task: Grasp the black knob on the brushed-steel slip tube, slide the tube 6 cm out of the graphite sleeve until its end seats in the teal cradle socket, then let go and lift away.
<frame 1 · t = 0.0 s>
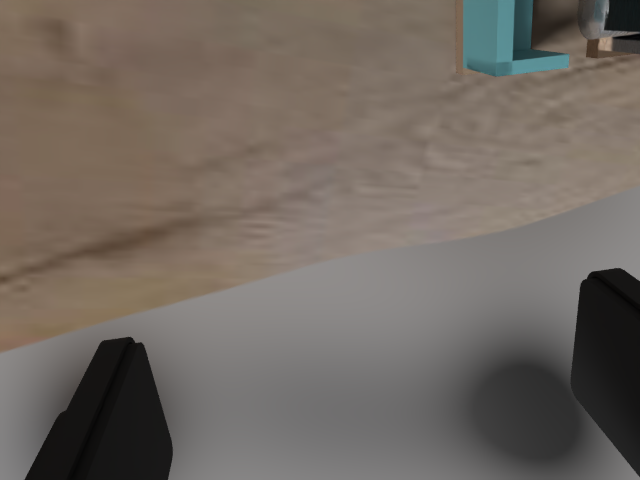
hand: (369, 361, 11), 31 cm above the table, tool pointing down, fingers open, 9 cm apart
far socket: (508, 19, 35), on the table
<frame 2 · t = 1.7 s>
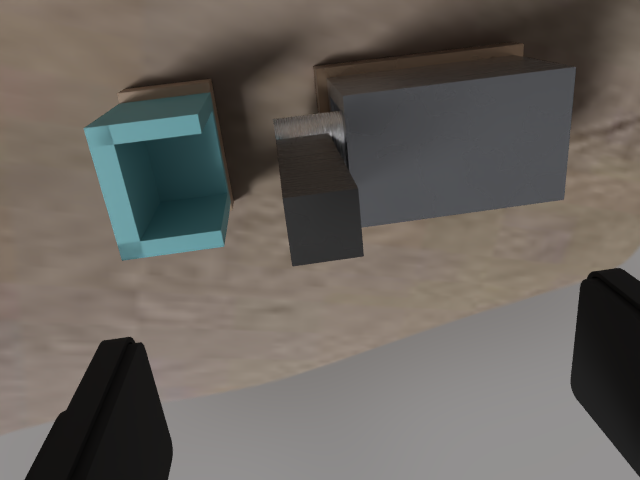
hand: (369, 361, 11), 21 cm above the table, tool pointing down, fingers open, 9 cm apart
slip tube: (415, 162, 22), point 8 cm above the table, slide at 0.0 cm
far socket: (171, 166, 26), on the table
tube sleeve: (415, 118, 30), on the table
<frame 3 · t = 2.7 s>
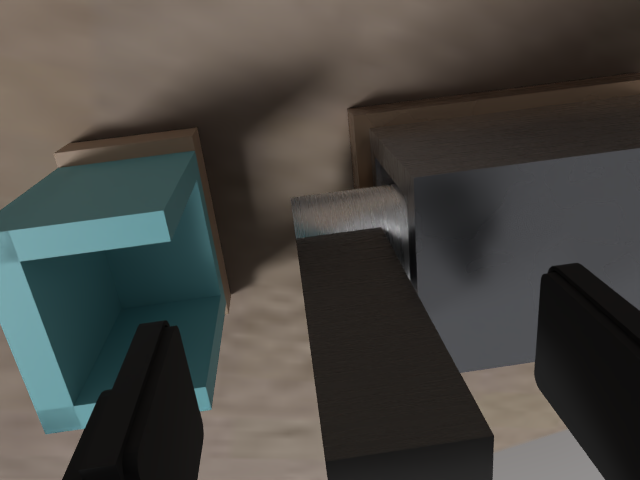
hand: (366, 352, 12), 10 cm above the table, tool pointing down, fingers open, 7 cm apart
slip tube: (534, 287, 13), point 8 cm above the table, slide at 0.0 cm
far socket: (133, 267, 17), on the table
tube sleeve: (491, 180, 21), on the table
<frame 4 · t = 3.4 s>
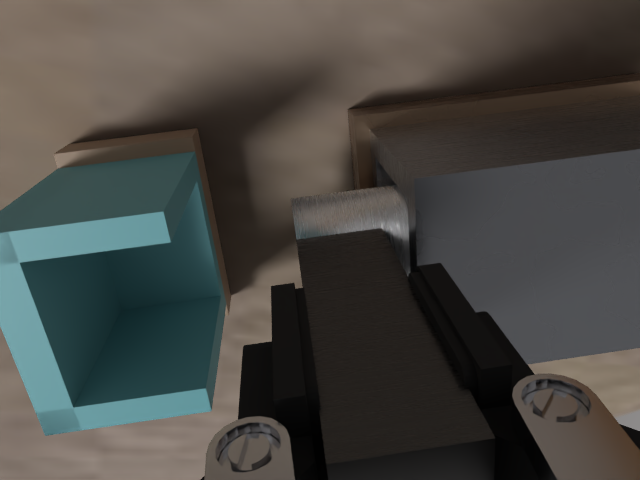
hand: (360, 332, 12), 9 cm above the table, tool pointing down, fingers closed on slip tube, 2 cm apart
slip tube: (535, 288, 13), point 8 cm above the table, slide at 0.0 cm, touching gripper
far socket: (133, 268, 17), on the table
tube sleeve: (492, 181, 21), on the table
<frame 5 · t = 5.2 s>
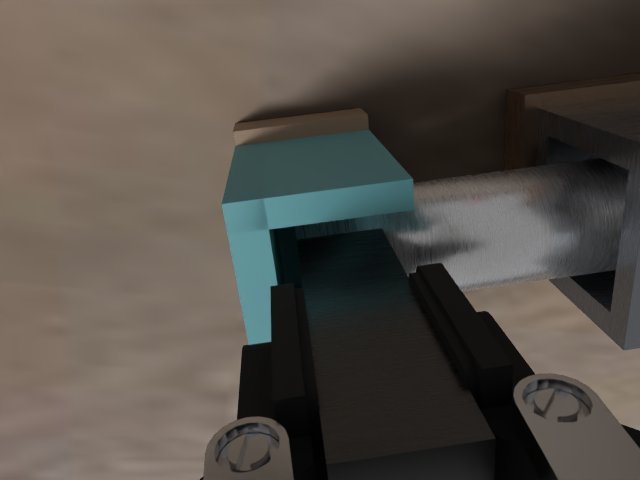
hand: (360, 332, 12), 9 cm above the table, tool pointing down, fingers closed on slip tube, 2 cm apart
slip tube: (535, 289, 13), point 8 cm above the table, slide at 6.0 cm, touching gripper
far socket: (317, 243, 17), on the table
tube sleeve: (637, 162, 21), on the table
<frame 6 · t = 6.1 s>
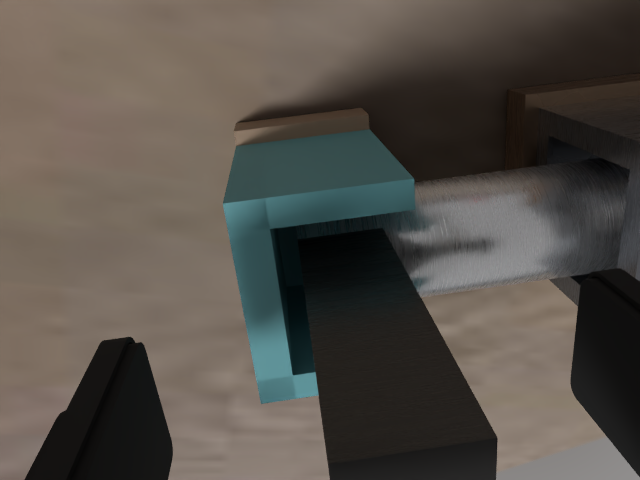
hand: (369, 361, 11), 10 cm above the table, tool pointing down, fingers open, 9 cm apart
slip tube: (536, 288, 13), point 8 cm above the table, slide at 6.0 cm
far socket: (318, 243, 17), on the table
tube sleeve: (637, 161, 21), on the table
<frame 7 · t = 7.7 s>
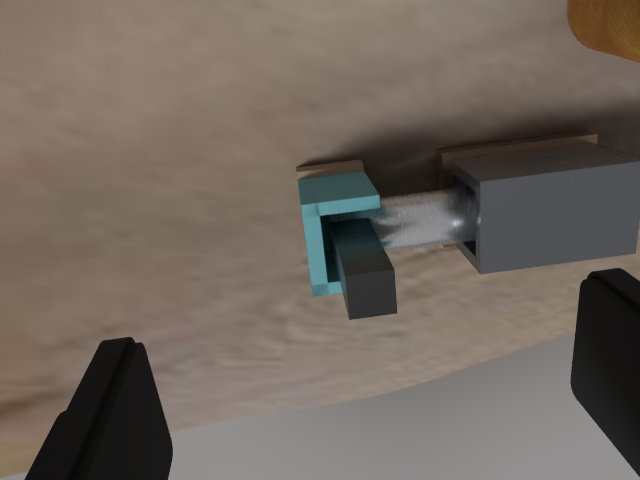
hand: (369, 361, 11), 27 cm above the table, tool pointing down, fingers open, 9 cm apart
disposable coffee cup: (611, 1, 35), on the table
slip tube: (432, 241, 31), point 8 cm above the table, slide at 6.0 cm
far socket: (338, 226, 35), on the table
tube sleeve: (510, 186, 39), on the table
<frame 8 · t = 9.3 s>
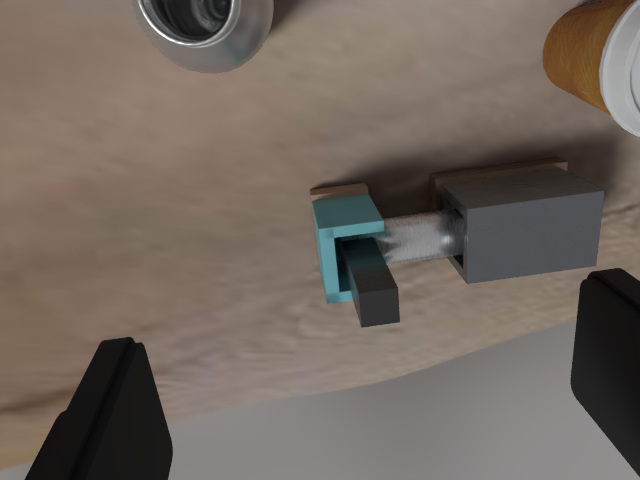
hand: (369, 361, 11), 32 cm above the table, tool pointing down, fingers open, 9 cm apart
disposable coffee cup: (580, 49, 41), on the table
slip tube: (427, 258, 37), point 8 cm above the table, slide at 6.0 cm
far socket: (347, 242, 41), on the table
tube sleeve: (493, 204, 45), on the table
plastic bottle: (225, 4, 38), on the table
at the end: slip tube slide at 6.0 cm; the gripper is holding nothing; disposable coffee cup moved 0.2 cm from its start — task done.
